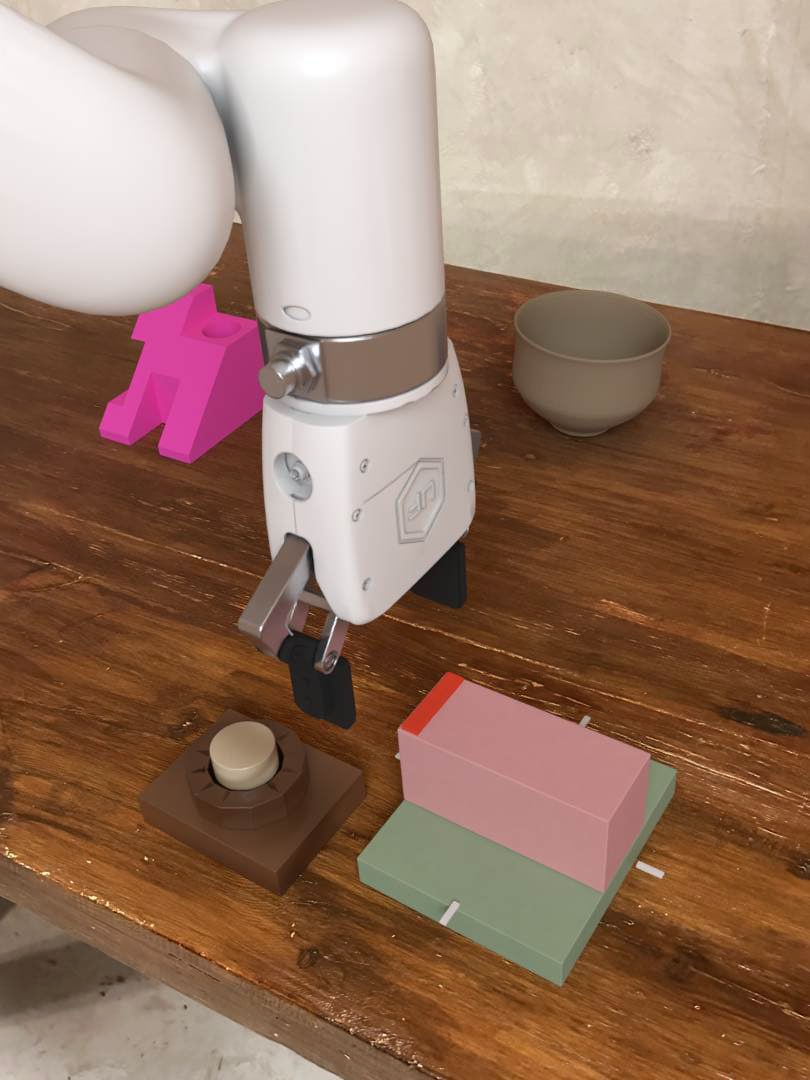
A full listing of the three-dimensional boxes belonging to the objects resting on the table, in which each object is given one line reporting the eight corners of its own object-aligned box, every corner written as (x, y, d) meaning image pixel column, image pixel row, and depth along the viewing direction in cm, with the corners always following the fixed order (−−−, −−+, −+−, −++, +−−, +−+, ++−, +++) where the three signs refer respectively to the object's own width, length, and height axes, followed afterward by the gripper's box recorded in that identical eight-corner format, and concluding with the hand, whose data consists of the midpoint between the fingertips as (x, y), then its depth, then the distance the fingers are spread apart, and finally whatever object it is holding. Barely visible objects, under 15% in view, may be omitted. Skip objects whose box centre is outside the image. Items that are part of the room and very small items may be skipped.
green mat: (590, 1027, 53) (592, 1001, 51) (315, 879, 60) (311, 854, 59) (717, 795, 63) (721, 768, 62) (469, 694, 71) (469, 669, 70)
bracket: (188, 377, 108) (168, 276, 101) (274, 399, 103) (258, 295, 97) (101, 436, 100) (73, 330, 93) (190, 464, 95) (167, 354, 89)
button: (251, 801, 60) (246, 779, 59) (200, 775, 62) (195, 753, 61) (292, 757, 63) (288, 735, 62) (242, 733, 64) (238, 712, 63)
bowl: (661, 469, 90) (671, 357, 84) (503, 460, 92) (502, 350, 86) (664, 392, 100) (673, 286, 94) (521, 385, 102) (521, 282, 96)
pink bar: (644, 824, 59) (651, 749, 56) (603, 894, 56) (608, 818, 53) (450, 741, 65) (446, 668, 62) (403, 799, 62) (396, 726, 58)
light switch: (280, 898, 60) (270, 850, 57) (144, 821, 64) (129, 774, 62) (367, 796, 65) (361, 748, 62) (234, 732, 70) (224, 686, 67)
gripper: (294, 466, 38) (343, 803, 48) (539, 274, 49) (536, 581, 59) (134, 413, 41) (211, 737, 52) (397, 246, 53) (417, 539, 63)
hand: (385, 653), depth 55 cm, fingers open, 9 cm apart
